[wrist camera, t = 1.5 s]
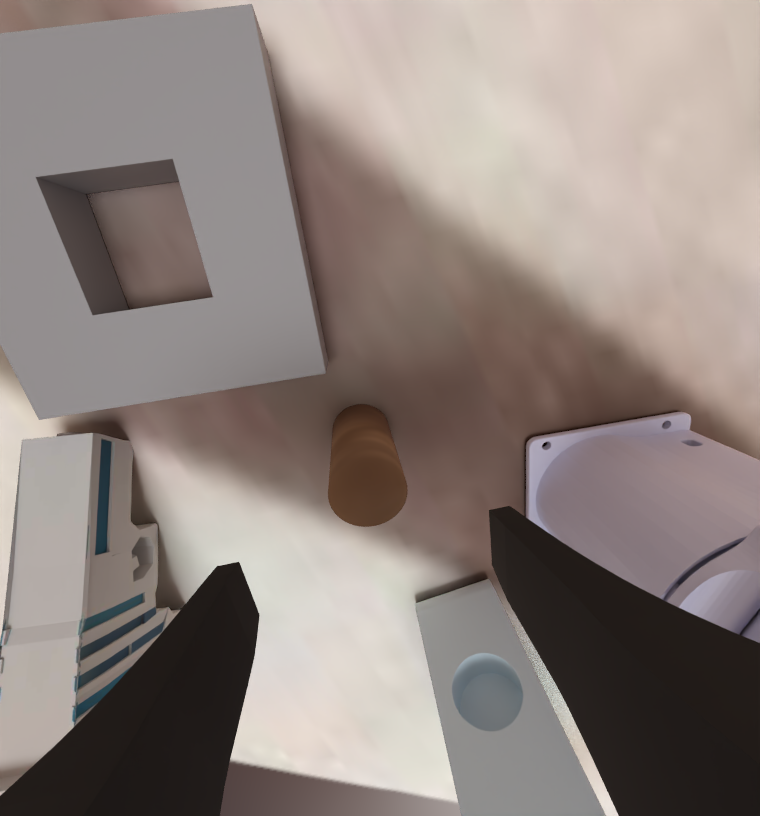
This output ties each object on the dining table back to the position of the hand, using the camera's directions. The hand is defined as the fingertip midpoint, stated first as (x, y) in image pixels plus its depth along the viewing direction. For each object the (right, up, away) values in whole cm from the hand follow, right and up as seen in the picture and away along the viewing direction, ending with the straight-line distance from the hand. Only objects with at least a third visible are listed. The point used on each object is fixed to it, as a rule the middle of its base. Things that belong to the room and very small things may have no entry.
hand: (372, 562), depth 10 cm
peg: (-1, +3, +9) cm, 10 cm away
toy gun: (-13, -4, +10) cm, 17 cm away
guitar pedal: (+8, -17, +17) cm, 26 cm away
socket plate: (-9, +11, +5) cm, 15 cm away
